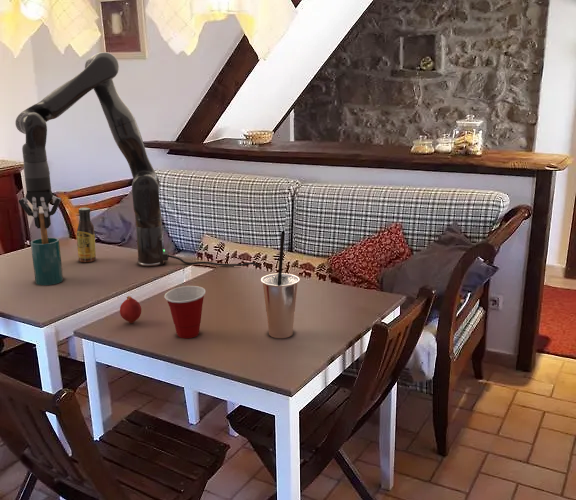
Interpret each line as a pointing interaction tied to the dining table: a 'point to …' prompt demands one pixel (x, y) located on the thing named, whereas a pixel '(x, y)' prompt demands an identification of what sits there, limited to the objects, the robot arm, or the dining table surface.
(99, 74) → the robot arm
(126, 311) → the onion
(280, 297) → the metal cup with straw
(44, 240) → the wooden peg with cap
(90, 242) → the sauce bottle
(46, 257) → the teal cylindrical container
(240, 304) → the dining table surface
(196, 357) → the dining table surface
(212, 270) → the dining table surface
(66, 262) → the dining table surface
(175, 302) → the plastic cup
